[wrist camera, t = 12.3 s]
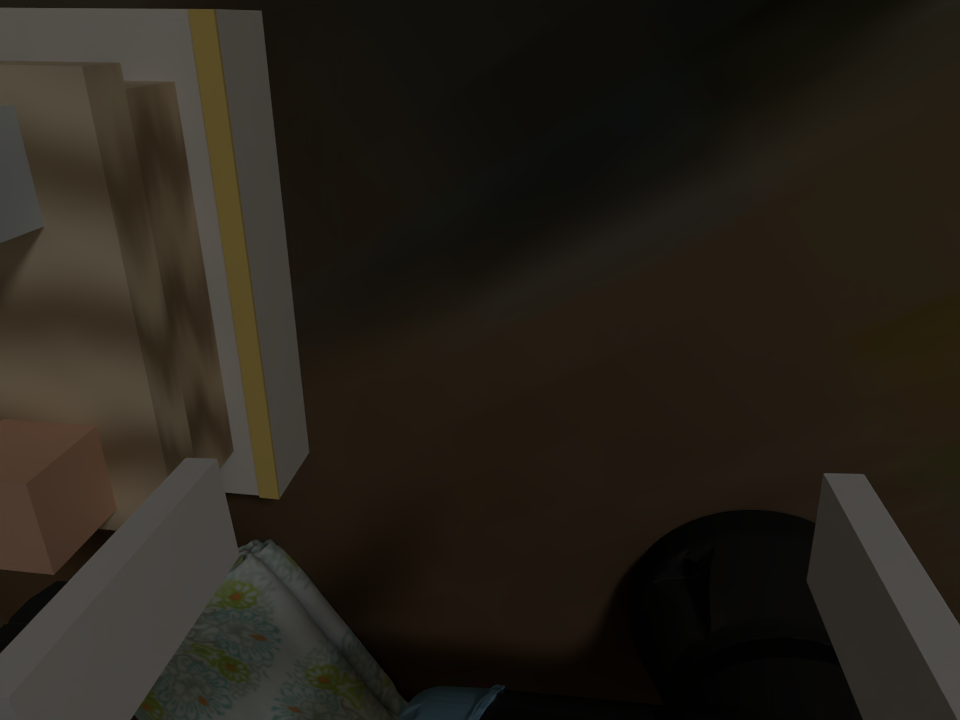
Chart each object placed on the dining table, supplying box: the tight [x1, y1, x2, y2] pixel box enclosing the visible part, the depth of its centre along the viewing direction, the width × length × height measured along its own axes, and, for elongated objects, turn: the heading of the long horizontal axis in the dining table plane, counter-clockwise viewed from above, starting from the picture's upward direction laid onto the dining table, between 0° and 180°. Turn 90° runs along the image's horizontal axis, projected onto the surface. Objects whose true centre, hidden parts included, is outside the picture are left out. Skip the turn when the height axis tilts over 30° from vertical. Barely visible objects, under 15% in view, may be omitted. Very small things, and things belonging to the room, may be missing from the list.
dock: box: [0, 8, 309, 499], centre depth 41 cm, size 26×16×5 cm, turn 0°
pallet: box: [0, 61, 234, 530], centre depth 35 cm, size 22×11×6 cm, turn 0°
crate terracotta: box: [0, 419, 117, 575], centre depth 33 cm, size 5×5×5 cm
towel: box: [134, 539, 408, 720], centre depth 55 cm, size 18×21×5 cm
